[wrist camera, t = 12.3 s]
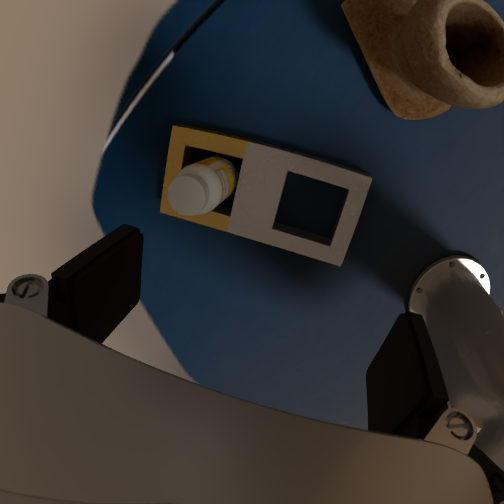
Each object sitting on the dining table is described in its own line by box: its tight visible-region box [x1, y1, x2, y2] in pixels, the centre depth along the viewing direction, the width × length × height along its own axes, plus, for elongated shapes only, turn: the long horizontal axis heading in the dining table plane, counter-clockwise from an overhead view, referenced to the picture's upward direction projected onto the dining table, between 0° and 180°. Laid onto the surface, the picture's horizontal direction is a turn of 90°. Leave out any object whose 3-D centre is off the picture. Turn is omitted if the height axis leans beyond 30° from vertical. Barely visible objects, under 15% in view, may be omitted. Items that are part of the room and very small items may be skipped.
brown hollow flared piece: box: [341, 0, 504, 120], centre depth 21 cm, size 15×12×15 cm
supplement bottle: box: [168, 157, 238, 216], centre depth 35 cm, size 5×5×10 cm
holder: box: [160, 124, 372, 267], centre depth 37 cm, size 23×11×3 cm, turn 77°
